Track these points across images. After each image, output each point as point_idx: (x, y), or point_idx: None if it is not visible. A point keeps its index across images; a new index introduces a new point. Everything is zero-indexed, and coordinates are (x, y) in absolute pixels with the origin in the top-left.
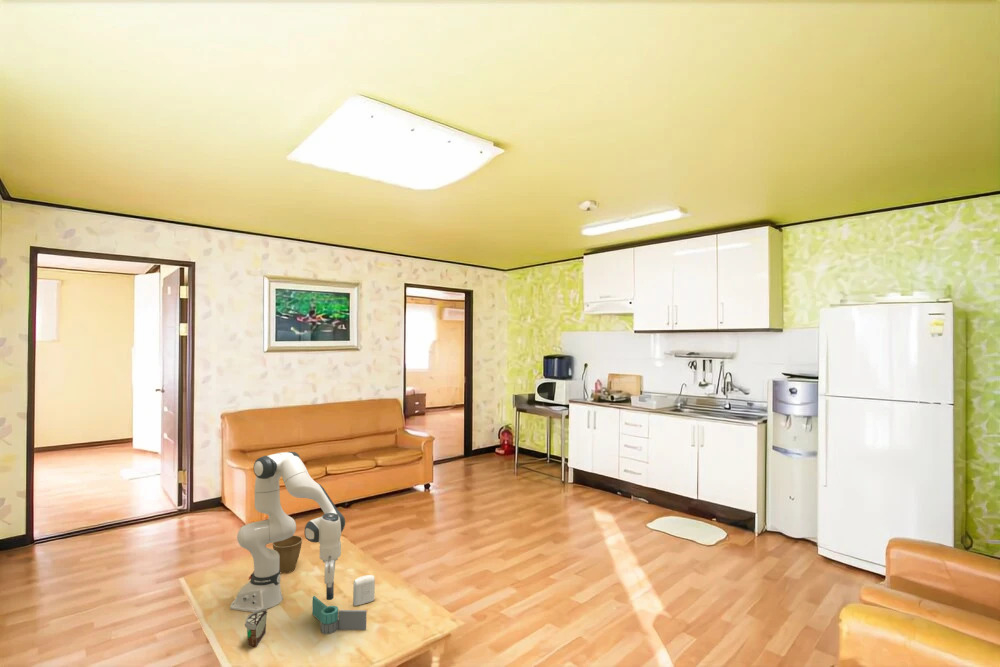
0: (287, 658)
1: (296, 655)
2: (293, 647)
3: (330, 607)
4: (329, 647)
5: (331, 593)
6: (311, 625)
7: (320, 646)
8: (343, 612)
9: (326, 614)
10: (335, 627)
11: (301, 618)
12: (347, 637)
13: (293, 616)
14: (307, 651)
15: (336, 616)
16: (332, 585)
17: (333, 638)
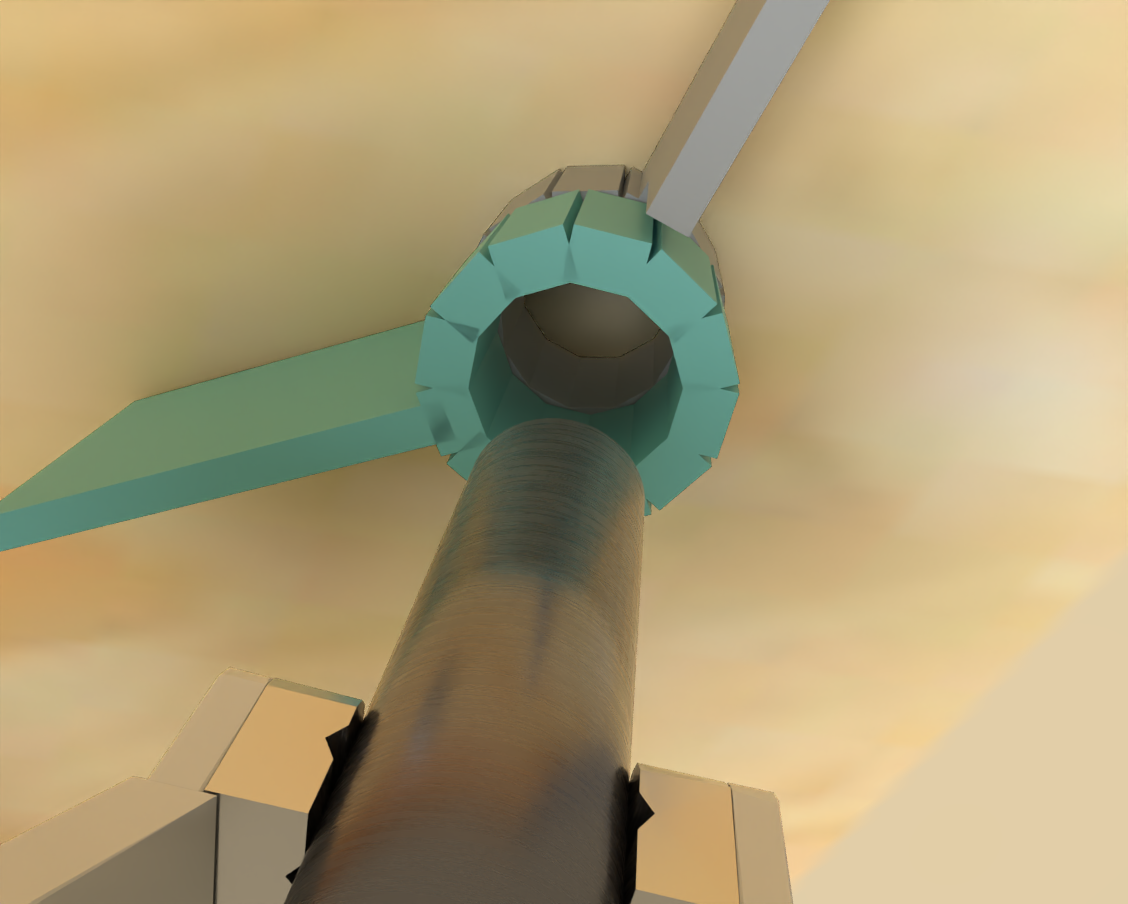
0: (923, 754)
1: (930, 684)
2: (760, 686)
3: (475, 352)
4: (1033, 358)
5: (637, 570)
6: (401, 467)
7: (932, 450)
8: (749, 133)
9: (704, 463)
10: (699, 229)
11: (199, 540)
12: (964, 75)
13: (128, 604)
14: (933, 586)
15: (686, 251)
16: (613, 708)
17: (857, 273)
